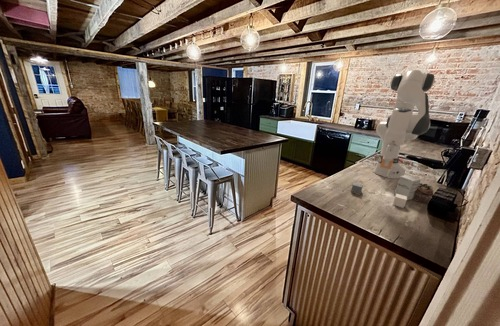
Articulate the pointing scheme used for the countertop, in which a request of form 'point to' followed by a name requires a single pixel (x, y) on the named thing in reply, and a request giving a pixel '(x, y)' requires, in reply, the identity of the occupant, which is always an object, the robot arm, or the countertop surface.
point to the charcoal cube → (356, 188)
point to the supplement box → (407, 186)
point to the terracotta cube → (388, 164)
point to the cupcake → (423, 193)
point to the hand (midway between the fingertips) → (386, 164)
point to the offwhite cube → (400, 200)
